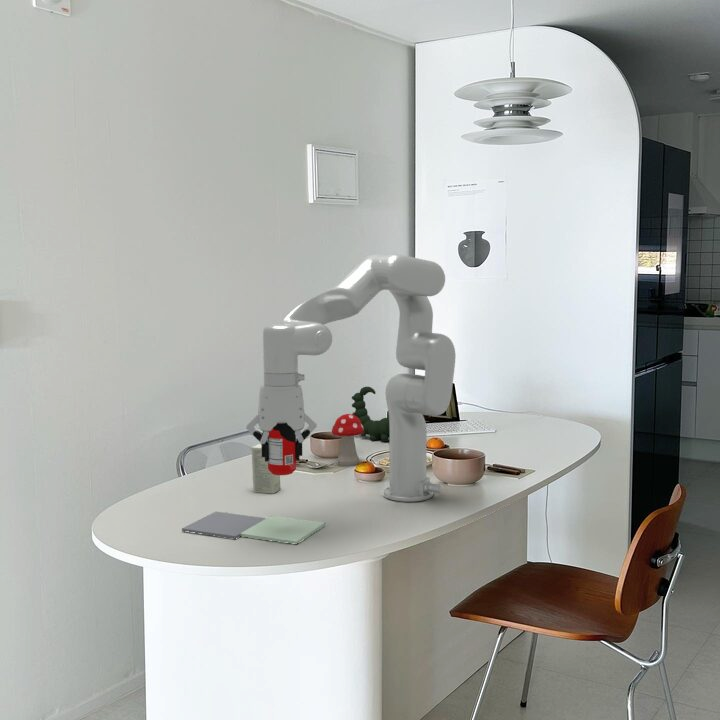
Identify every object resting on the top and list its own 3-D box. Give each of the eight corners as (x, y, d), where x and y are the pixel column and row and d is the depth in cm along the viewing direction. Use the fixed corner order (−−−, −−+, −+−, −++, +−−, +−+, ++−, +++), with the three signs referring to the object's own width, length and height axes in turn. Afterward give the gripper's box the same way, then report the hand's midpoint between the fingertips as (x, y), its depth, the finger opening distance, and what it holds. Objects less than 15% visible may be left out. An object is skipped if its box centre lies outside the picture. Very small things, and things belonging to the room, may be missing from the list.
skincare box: (280, 489, 232) (280, 444, 230) (273, 494, 227) (273, 448, 226) (259, 487, 234) (258, 443, 232) (251, 492, 229) (251, 446, 228)
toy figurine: (350, 444, 293) (416, 446, 280) (345, 388, 291) (412, 387, 278) (364, 439, 301) (429, 440, 288) (359, 384, 299) (425, 383, 286)
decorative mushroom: (341, 469, 253) (340, 418, 251) (326, 463, 260) (325, 413, 258) (370, 464, 258) (369, 414, 256) (354, 458, 266) (354, 410, 264)
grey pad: (266, 521, 204) (266, 518, 204) (235, 539, 192) (235, 536, 192) (215, 514, 210) (215, 511, 210) (182, 531, 197) (181, 528, 197)
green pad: (324, 526, 201) (324, 522, 201) (296, 545, 188) (296, 541, 188) (271, 519, 206) (271, 515, 206) (240, 536, 193) (240, 533, 193)
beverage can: (301, 473, 195) (301, 420, 193) (277, 477, 191) (276, 423, 190) (287, 467, 200) (286, 416, 198) (262, 472, 196) (262, 419, 195)
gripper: (318, 376, 198) (319, 454, 200) (241, 378, 195) (242, 457, 198) (321, 381, 190) (322, 462, 192) (241, 383, 188) (243, 465, 190)
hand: (282, 458), depth 195 cm, fingers closed on beverage can, 6 cm apart
